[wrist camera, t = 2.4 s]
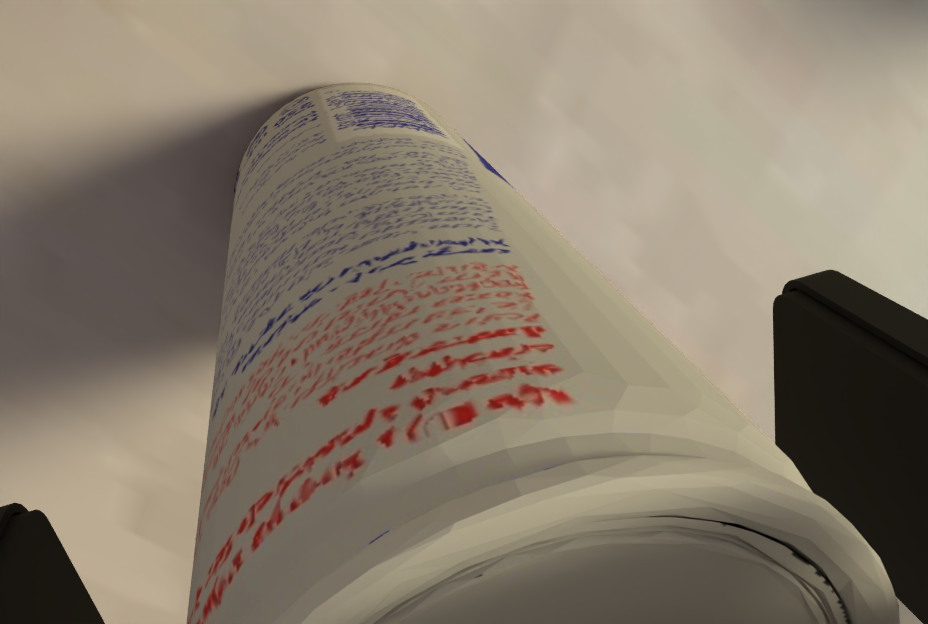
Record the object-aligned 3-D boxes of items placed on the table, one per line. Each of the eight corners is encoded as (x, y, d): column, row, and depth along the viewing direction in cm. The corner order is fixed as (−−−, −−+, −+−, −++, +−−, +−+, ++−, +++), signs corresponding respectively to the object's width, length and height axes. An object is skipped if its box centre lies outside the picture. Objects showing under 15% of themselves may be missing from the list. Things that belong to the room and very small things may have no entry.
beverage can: (205, 268, 19) (66, 1050, 6) (279, 39, 17) (337, 376, 4) (419, 330, 21) (695, 1013, 8) (505, 131, 19) (1059, 561, 6)
